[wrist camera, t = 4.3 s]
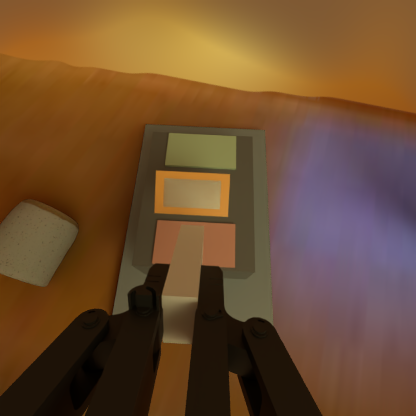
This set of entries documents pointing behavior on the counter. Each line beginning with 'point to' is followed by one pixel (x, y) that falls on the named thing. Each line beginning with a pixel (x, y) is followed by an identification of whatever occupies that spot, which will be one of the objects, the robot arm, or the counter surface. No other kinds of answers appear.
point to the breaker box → (213, 225)
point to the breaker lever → (192, 193)
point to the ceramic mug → (35, 241)
